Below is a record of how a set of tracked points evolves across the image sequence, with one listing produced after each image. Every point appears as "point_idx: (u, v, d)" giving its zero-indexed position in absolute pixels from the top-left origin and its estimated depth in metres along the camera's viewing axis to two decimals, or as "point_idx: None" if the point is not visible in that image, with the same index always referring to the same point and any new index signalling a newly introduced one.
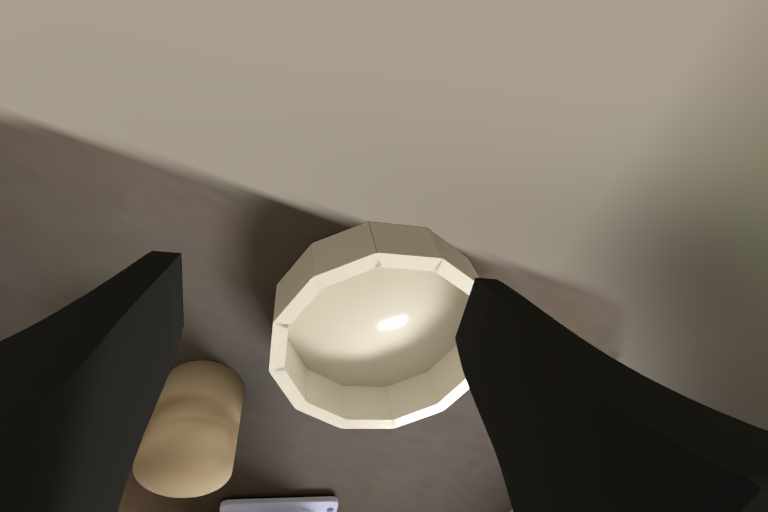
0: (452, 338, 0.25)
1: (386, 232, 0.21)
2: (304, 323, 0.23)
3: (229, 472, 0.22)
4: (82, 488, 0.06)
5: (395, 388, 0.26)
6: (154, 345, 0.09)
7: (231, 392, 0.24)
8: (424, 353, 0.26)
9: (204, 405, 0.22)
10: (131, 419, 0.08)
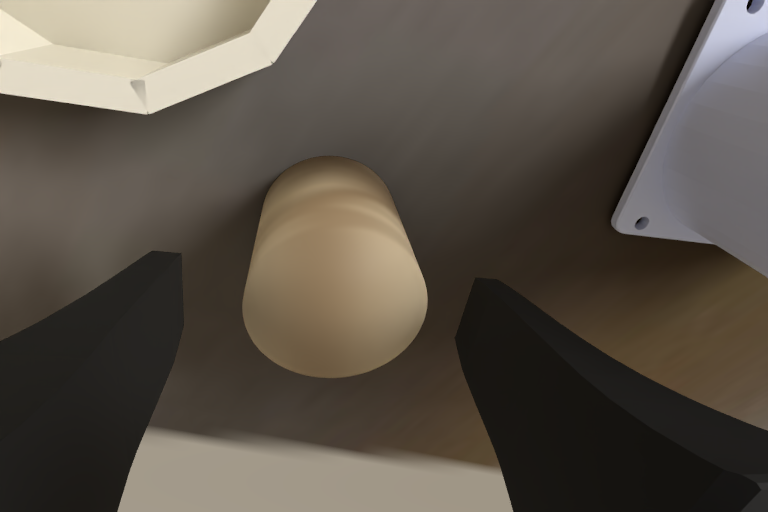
0: None
1: None
2: (126, 19, 0.11)
3: (362, 236, 0.10)
4: (82, 488, 0.06)
5: None
6: (154, 345, 0.09)
7: (288, 185, 0.13)
8: None
9: (255, 242, 0.12)
10: (131, 419, 0.08)
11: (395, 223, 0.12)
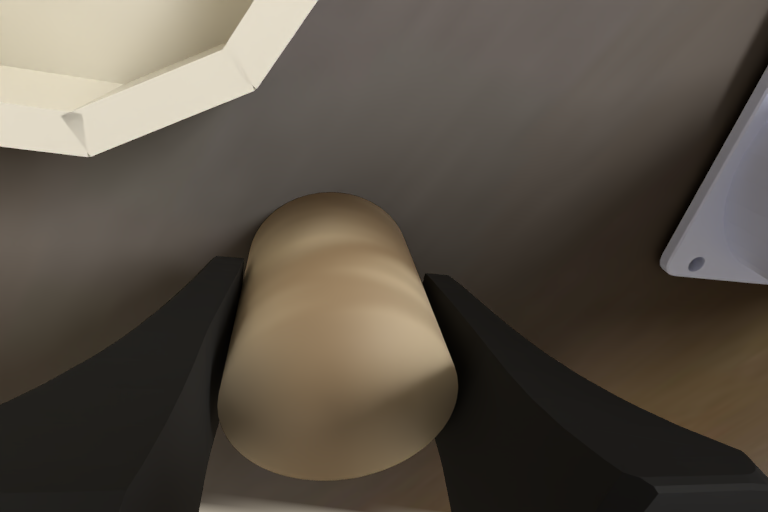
0: None
1: None
2: (67, 28, 0.08)
3: (376, 319, 0.07)
4: (186, 486, 0.06)
5: None
6: (226, 348, 0.09)
7: (279, 233, 0.10)
8: None
9: (237, 311, 0.09)
10: (210, 420, 0.08)
11: (414, 287, 0.09)
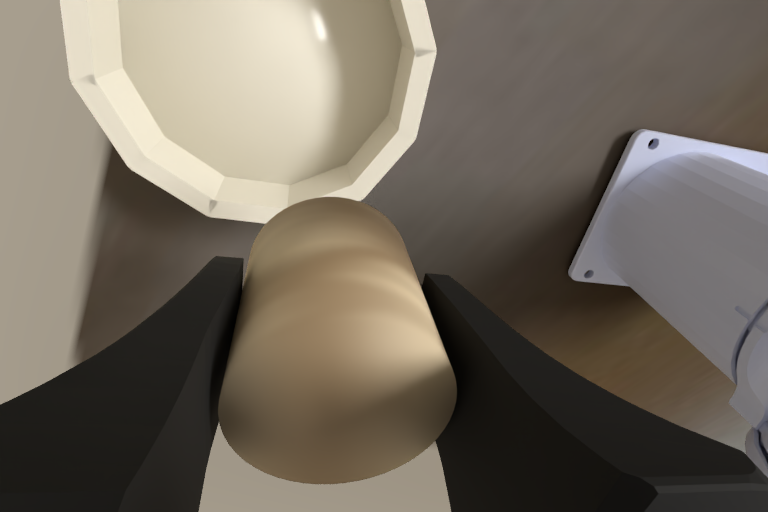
0: None
1: None
2: (269, 162, 0.18)
3: (372, 324, 0.07)
4: (185, 486, 0.06)
5: (399, 31, 0.16)
6: (225, 348, 0.09)
7: (277, 239, 0.10)
8: None
9: (236, 318, 0.09)
10: (209, 420, 0.08)
11: (412, 290, 0.09)
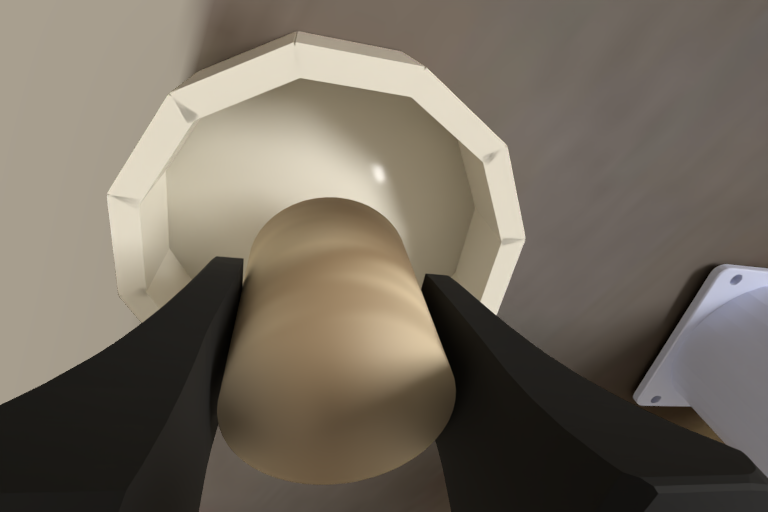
0: (378, 92, 0.13)
1: None
2: None
3: (369, 325, 0.07)
4: (186, 486, 0.06)
5: (475, 199, 0.14)
6: (226, 348, 0.09)
7: (275, 240, 0.10)
8: (408, 146, 0.14)
9: (236, 319, 0.09)
10: (210, 420, 0.08)
11: (410, 290, 0.09)
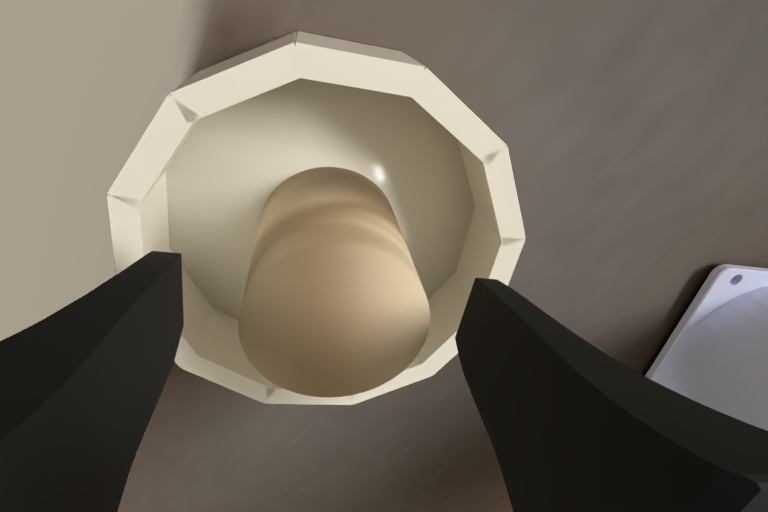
0: (378, 92, 0.13)
1: None
2: None
3: (358, 252, 0.09)
4: (82, 488, 0.06)
5: (475, 199, 0.14)
6: (154, 345, 0.09)
7: (283, 199, 0.12)
8: (408, 146, 0.14)
9: (251, 261, 0.11)
10: (131, 419, 0.08)
11: (394, 235, 0.11)
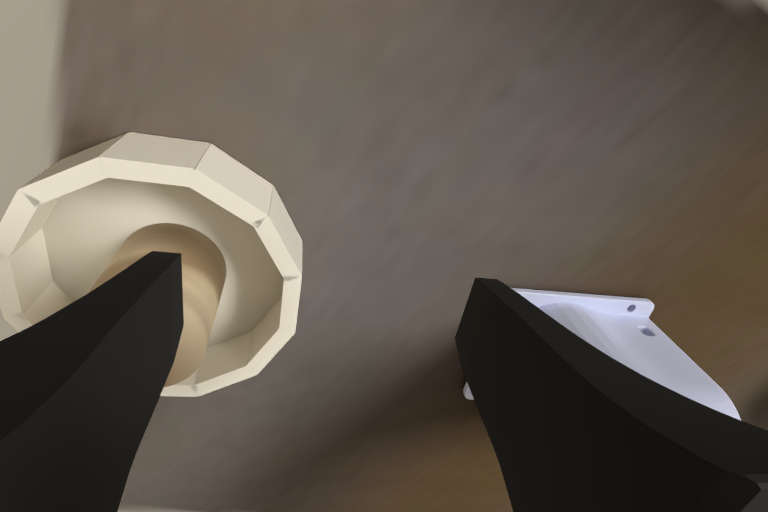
0: None
1: None
2: None
3: None
4: (82, 488, 0.06)
5: None
6: (154, 345, 0.09)
7: (120, 250, 0.17)
8: (223, 208, 0.19)
9: None
10: (131, 419, 0.08)
11: (185, 278, 0.16)
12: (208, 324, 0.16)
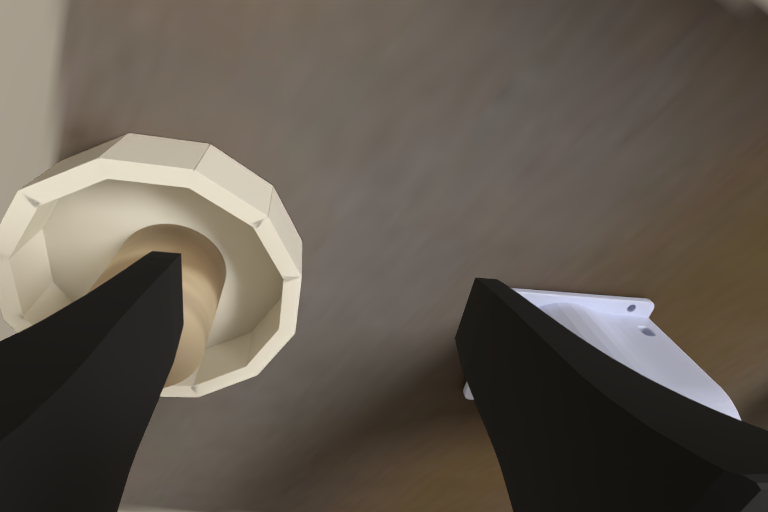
0: None
1: None
2: None
3: None
4: (82, 488, 0.06)
5: None
6: (154, 345, 0.09)
7: (120, 251, 0.17)
8: (223, 208, 0.19)
9: None
10: (131, 419, 0.08)
11: (184, 279, 0.16)
12: (206, 325, 0.16)
